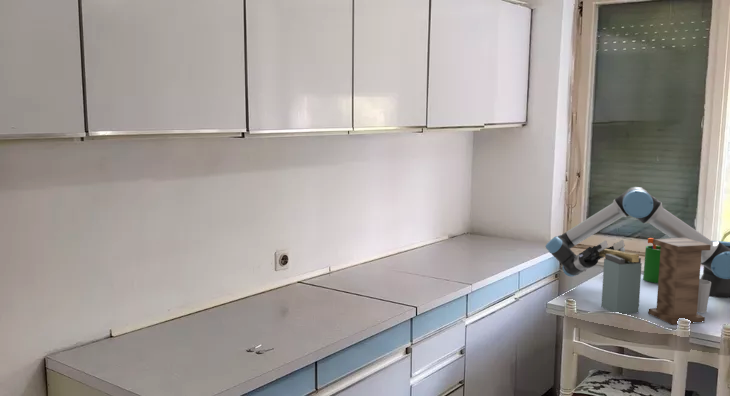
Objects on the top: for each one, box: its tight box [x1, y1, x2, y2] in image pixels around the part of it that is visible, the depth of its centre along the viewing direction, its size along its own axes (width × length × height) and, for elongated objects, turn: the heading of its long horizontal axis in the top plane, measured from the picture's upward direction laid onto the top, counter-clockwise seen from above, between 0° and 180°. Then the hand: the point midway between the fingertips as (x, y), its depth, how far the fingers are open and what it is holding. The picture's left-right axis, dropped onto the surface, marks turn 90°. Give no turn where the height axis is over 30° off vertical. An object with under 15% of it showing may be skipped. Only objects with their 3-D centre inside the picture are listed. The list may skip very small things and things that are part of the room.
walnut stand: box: [648, 237, 711, 326], centre depth 249 cm, size 14×14×30 cm
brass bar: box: [599, 249, 640, 262], centre depth 261 cm, size 22×3×3 cm, turn 13°
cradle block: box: [600, 254, 643, 314], centre depth 259 cm, size 10×10×22 cm
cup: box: [697, 278, 711, 314], centre depth 259 cm, size 8×8×12 cm
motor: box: [642, 237, 661, 284], centre depth 305 cm, size 10×9×20 cm
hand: (614, 243), depth 263 cm, fingers open, 7 cm apart
